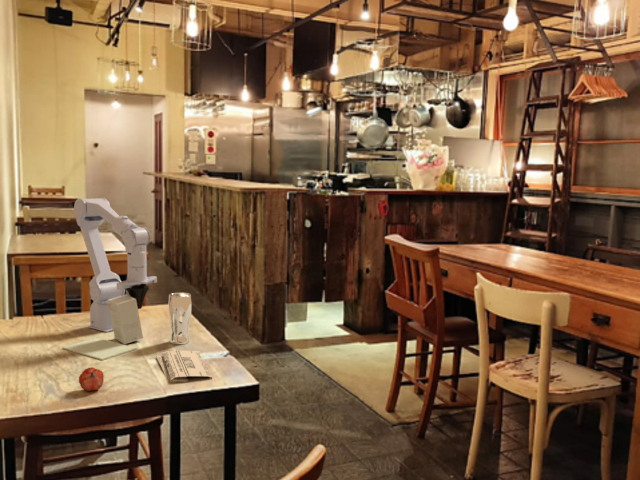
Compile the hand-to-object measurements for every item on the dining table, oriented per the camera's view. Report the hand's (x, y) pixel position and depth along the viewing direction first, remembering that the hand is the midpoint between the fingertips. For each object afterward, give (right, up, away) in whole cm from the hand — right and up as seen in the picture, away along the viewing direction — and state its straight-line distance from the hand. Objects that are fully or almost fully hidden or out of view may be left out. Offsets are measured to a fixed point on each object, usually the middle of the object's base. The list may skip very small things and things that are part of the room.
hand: (137, 308), depth 183 cm
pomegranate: (+2, -15, -41) cm, 44 cm away
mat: (-8, -11, -11) cm, 17 cm away
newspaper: (+20, -14, -25) cm, 35 cm away
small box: (-2, -9, -2) cm, 10 cm away
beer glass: (+14, -10, -2) cm, 18 cm away
